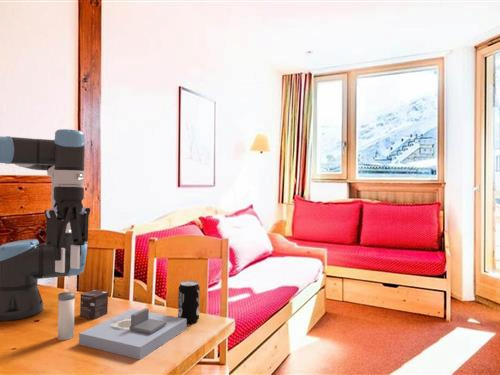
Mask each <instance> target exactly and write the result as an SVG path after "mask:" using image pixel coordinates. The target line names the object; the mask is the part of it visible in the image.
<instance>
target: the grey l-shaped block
mask: <svg viewBox="0 0 500 375" xmlns="http://www.w3.org/2000/svg"><path fill="white" fill-rule="evenodd" d="M139 310H140V311H138V312H136V313H134V314H132V315H131V326H130V330H135V331H140V332H144V333H149V334H151V333H153V332H155V331H156V330H158V329H160V328H162V327H163V326H165V325H166V322H165V321H159V320H154V319H149V312H150V309H149V308H147V307H146V308H143V309H139Z"/></svg>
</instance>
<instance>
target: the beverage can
mask: <svg viewBox="0 0 500 375" xmlns="http://www.w3.org/2000/svg"><path fill="white" fill-rule="evenodd" d="M200 287H201V286H200V284H199V282H198V280H197V281H196V280H188V279H187V280H182V281H181V282H179V286H178V291H177V292H178V297H177V298H178V299H177V300H178V301H177V303H178V305H177V306H178V307H177V308H178V309H177V317H179V318H185V319H187V325H189V324H195V323H197V322H198V320H199V318H200V294H201V293H200V290H201V288H200Z"/></svg>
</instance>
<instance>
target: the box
mask: <svg viewBox="0 0 500 375" xmlns="http://www.w3.org/2000/svg"><path fill="white" fill-rule="evenodd" d="M108 303H109V292H108V291H104V290H99V289H93V290H90V291H89V290H88V291H87V292H82V293H81V294H80V306H79V307H80V308H79V311H80V313H79V317H82V318H85V319H90V320H96V319H98V318H101V317H103V316H106V315H108V311H109V310H108V309H109V308H108V306H109V305H108Z"/></svg>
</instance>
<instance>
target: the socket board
mask: <svg viewBox="0 0 500 375" xmlns="http://www.w3.org/2000/svg"><path fill="white" fill-rule="evenodd" d="M140 310H141V309H134V308H132V309H129V310H127V311H125V312H122V313H121V314H118V315H117V316H115V317H114V316H113V317H112V318H110V319H108V320H106V321H102V322H101V323H98V324H96V325H94V326H92V327H90V328H87V329H86V330H84V331H81V332H79V333H78V345H80V346H83V347H88V348H91V349H95V350H96V349H97V350H98V351H99V350H100V351H105V352H109V353H112V354H116V355H120V356H125V357H129V358H133V359H135V360H136V359H137V360H142V359H143V358H145V357H146V356H148V355H149V354H151V353H152V352H154V351H155V350H157V349H159V347H161V346H163V345H164V344H166V343H167V342H169V341H170V340H173V339H174V338H175V337H176V336H178V335H180V334H181V333H182V332H184V331H185V330H187V325H188V324H187V319H185V318H179V317H178V316H174V315H167V314H161V313H157V312H152V311H149V319H154V320H159V321H165V322H166V325H165V326H163V327H162V328H160V329H158V330H156V331H155V332H153V333H151V334H149V333H144V332H140V331H135V330H130V326H131V315H132V314H134V313H136V312H138V311H140Z"/></svg>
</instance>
